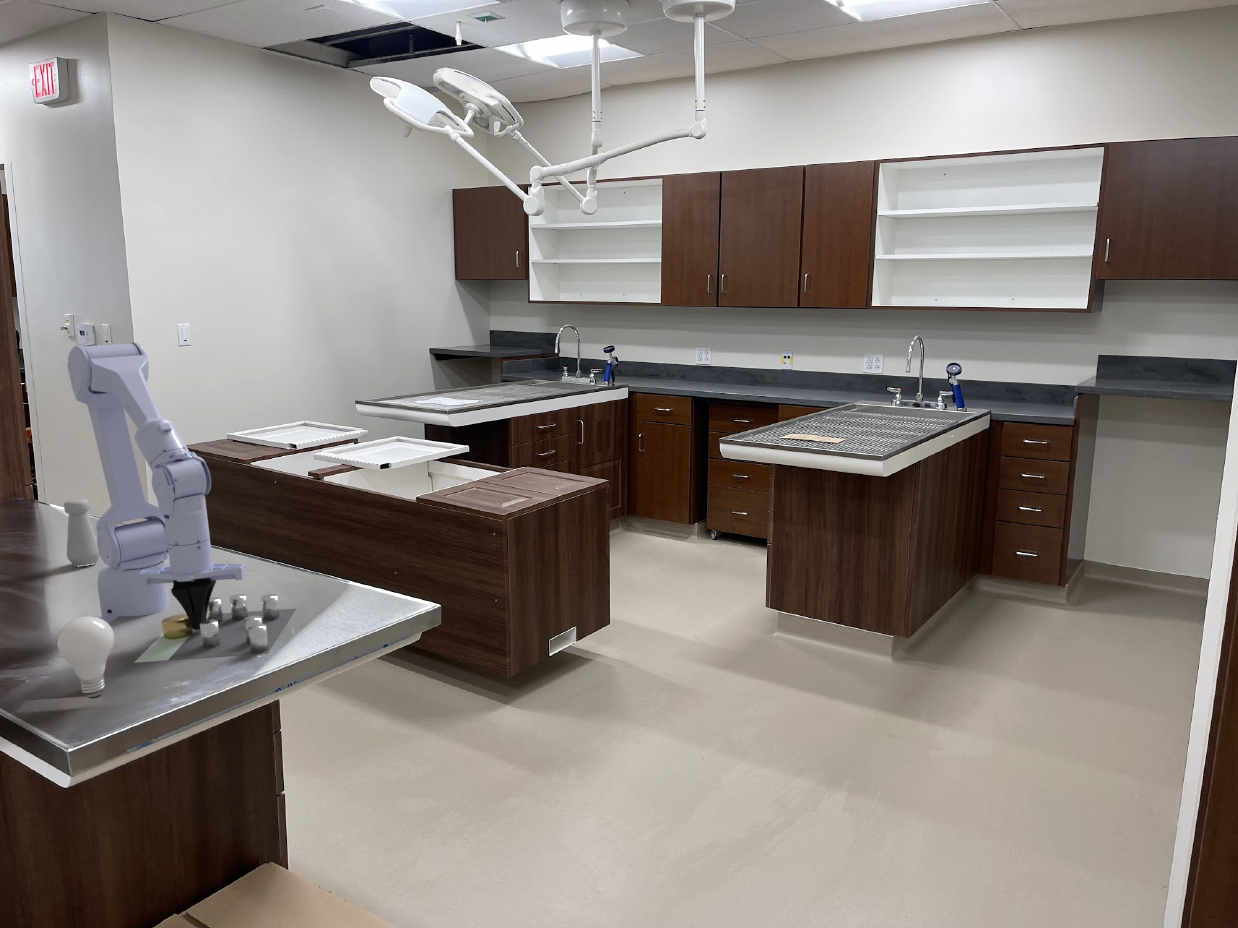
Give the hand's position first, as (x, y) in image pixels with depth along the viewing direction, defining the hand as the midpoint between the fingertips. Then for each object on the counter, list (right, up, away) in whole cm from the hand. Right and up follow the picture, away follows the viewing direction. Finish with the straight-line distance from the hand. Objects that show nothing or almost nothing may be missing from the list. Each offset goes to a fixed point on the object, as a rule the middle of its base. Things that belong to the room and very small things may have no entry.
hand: (199, 626), depth 136 cm
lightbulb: (-5, -6, -18) cm, 20 cm away
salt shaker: (-41, +5, +40) cm, 58 cm away
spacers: (+6, -1, -1) cm, 6 cm away
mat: (+3, -2, 0) cm, 4 cm away
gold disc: (-3, -1, 0) cm, 3 cm away
